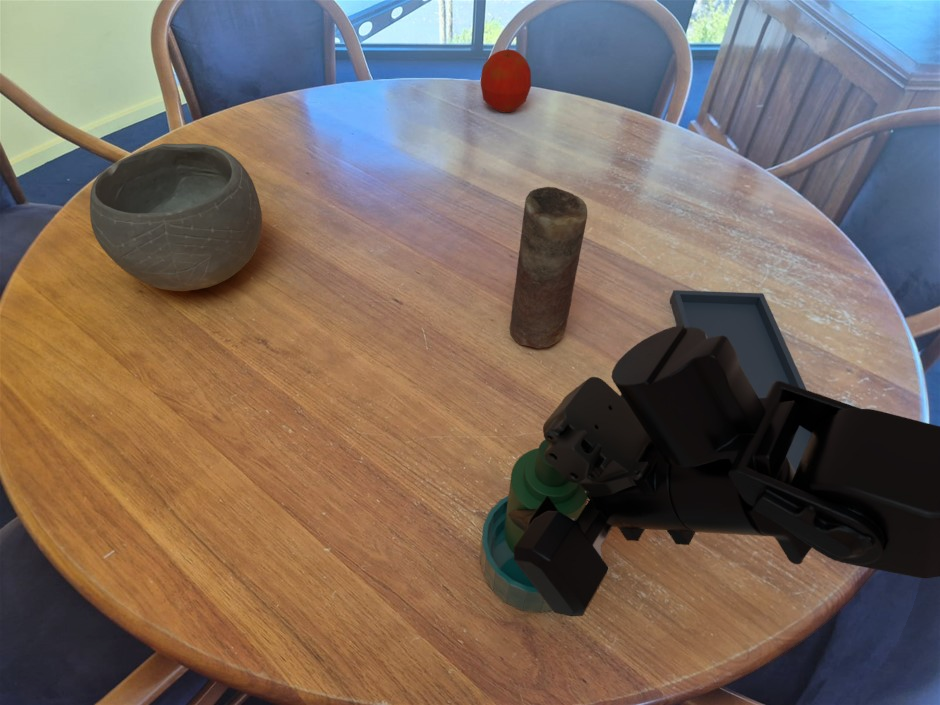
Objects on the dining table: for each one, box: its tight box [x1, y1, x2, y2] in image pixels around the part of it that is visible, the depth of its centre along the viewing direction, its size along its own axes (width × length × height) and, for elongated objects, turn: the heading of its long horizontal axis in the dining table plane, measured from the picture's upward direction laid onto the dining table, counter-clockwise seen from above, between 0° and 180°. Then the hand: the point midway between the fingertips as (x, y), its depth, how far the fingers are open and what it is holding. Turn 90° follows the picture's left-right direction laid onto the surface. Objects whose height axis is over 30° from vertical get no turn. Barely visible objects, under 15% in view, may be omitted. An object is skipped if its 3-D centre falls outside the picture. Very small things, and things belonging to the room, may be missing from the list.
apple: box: [480, 48, 532, 113], centre depth 123 cm, size 10×10×12 cm
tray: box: [669, 289, 811, 472], centre depth 77 cm, size 31×13×2 cm, turn 179°
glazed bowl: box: [479, 495, 553, 613], centre depth 59 cm, size 10×10×5 cm
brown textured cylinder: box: [509, 186, 588, 349], centre depth 76 cm, size 8×7×20 cm
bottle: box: [504, 438, 589, 553], centre depth 52 cm, size 6×6×13 cm
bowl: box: [89, 143, 263, 292], centre depth 84 cm, size 21×21×15 cm
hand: (533, 487), depth 52 cm, fingers closed on bottle, 6 cm apart
